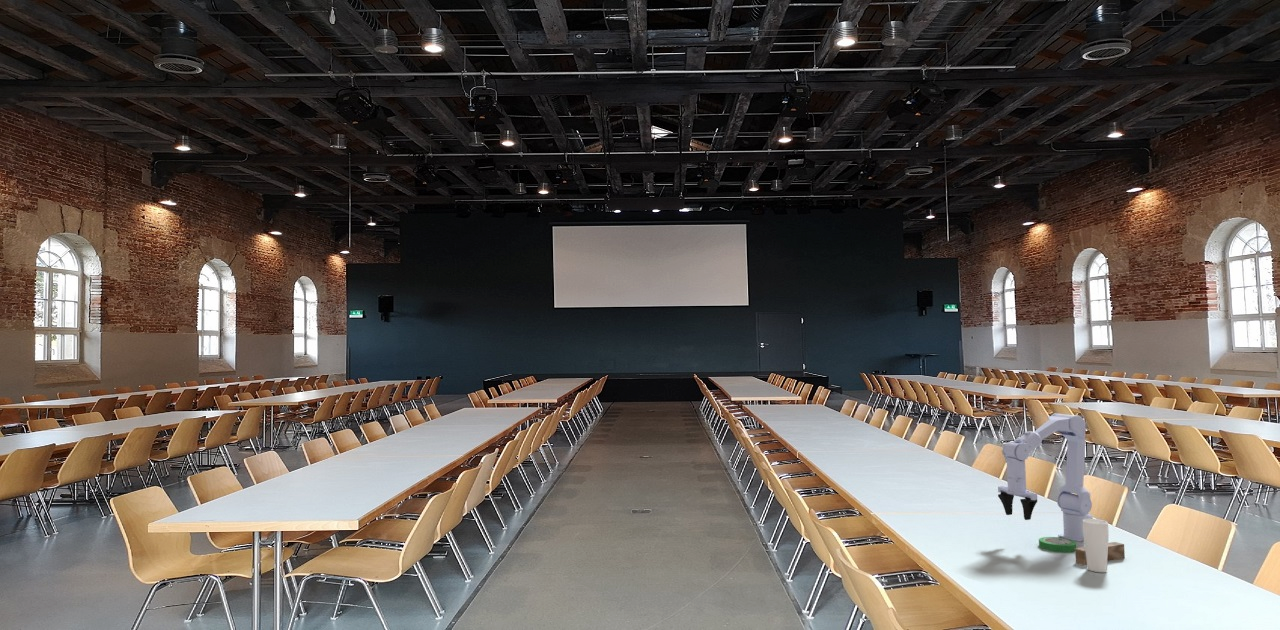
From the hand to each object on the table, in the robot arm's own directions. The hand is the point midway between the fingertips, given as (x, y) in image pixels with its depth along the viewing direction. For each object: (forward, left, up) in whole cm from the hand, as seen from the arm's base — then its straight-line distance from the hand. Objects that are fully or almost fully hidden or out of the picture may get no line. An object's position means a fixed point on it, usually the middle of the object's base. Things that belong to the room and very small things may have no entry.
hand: (1018, 517), depth 250 cm
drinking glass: (0, +29, -10) cm, 31 cm away
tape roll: (-10, +7, -10) cm, 16 cm away
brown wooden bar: (-10, +22, -10) cm, 26 cm away
